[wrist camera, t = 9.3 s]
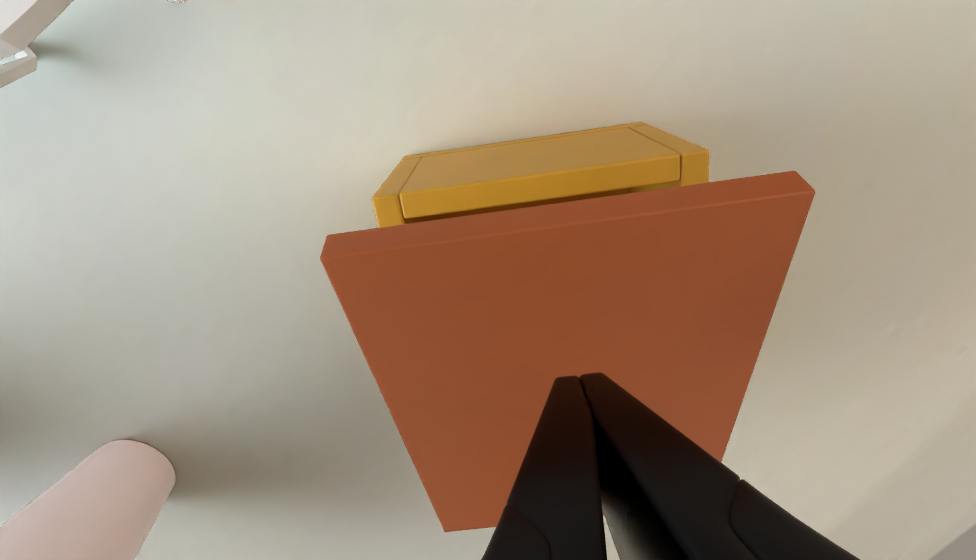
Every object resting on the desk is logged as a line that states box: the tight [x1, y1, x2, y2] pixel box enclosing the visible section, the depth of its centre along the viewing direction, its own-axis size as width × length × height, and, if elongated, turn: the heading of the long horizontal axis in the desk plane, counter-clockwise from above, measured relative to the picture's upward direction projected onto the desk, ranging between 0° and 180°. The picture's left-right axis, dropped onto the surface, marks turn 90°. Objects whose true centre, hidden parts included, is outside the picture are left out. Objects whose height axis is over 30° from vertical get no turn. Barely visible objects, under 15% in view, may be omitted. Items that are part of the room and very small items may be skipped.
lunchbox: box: [372, 122, 709, 228], centre depth 17 cm, size 11×8×6 cm
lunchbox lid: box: [320, 171, 815, 532], centre depth 13 cm, size 12×8×1 cm
